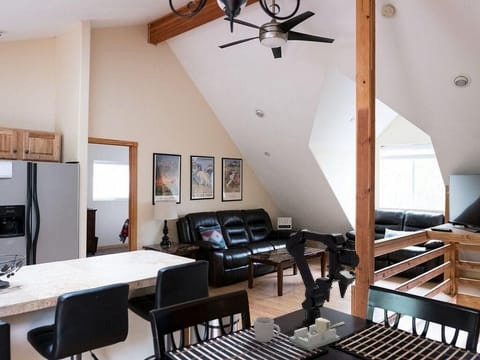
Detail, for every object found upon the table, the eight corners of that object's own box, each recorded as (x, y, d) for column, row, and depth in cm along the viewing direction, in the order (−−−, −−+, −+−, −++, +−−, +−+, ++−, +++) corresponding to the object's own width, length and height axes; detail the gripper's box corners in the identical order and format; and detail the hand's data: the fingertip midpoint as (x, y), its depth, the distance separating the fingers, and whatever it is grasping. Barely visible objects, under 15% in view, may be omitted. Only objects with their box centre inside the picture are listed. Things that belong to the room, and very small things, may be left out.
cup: (283, 339, 153) (283, 319, 153) (276, 347, 146) (276, 326, 146) (258, 334, 158) (258, 315, 158) (250, 342, 151) (250, 321, 151)
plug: (315, 333, 156) (315, 319, 156) (320, 332, 158) (320, 317, 158) (325, 338, 151) (325, 323, 151) (331, 336, 153) (331, 321, 153)
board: (289, 340, 152) (289, 329, 152) (319, 330, 162) (319, 320, 162) (309, 350, 143) (309, 339, 143) (339, 339, 153) (339, 328, 153)
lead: (332, 328, 165) (332, 326, 165) (330, 327, 166) (330, 325, 166) (345, 324, 170) (345, 321, 170) (343, 323, 171) (343, 321, 171)
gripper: (335, 269, 150) (335, 309, 150) (365, 263, 161) (365, 300, 161) (314, 264, 159) (314, 302, 159) (343, 259, 170) (343, 294, 170)
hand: (335, 300), depth 162 cm, fingers open, 9 cm apart
